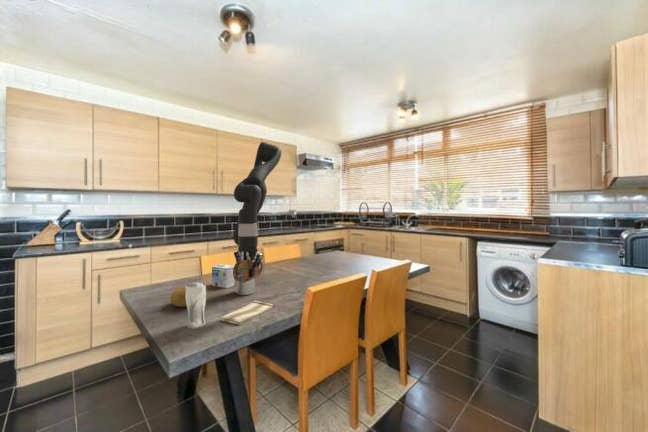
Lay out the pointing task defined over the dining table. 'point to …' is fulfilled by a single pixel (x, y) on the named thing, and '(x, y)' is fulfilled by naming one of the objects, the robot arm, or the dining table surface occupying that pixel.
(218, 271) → the light bulb box
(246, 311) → the board
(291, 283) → the dining table surface
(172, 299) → the potato
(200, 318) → the beer glass
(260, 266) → the tin
